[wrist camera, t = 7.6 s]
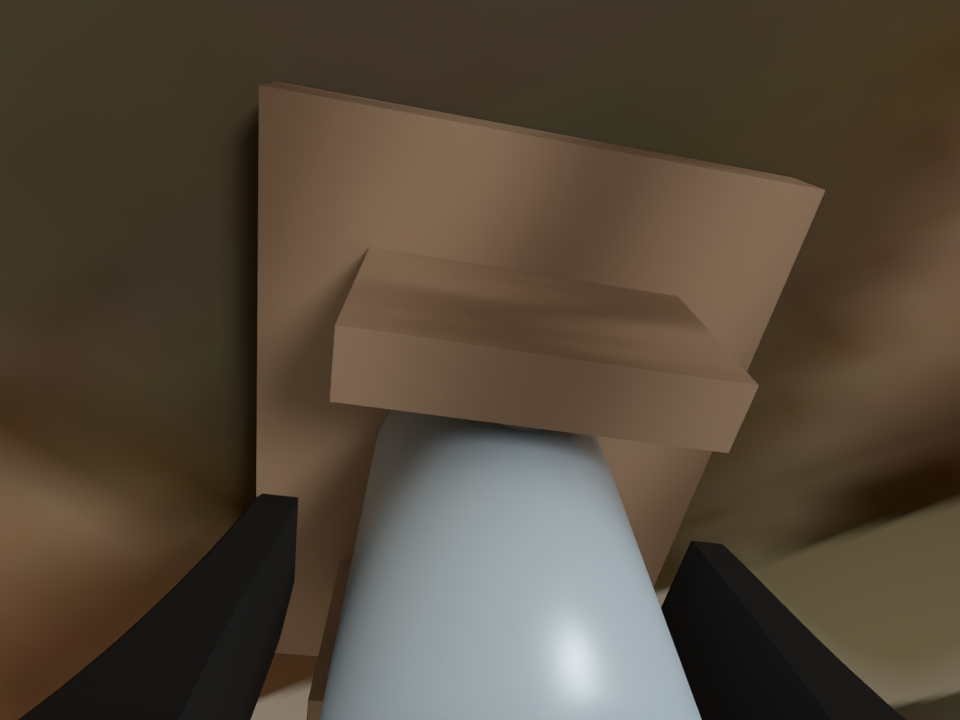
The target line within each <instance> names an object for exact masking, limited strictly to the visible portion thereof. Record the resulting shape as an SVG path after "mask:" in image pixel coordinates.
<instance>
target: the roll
mask: <svg viewBox="0 0 960 720" xmlns="http://www.w3.org/2000/svg"><path fill="white" fill-rule="evenodd" d="M319 720H702V719H701V717H700V714H699V711H698V708H697V706H696V703H695V700H694V698H693V695H692V692H691V689H690V687H689V684H688V681H687V678H686V676H685V673H684V670H683V667H682V665H681V662H680V659H679V657H678V654H677V651H676V648H675V646H674V643H673V640H672V637H671V635H670V632H669V629H668V627H667V624H666V621H665V618H664V616H663V613H662V610H661V607H660V605H659V602H658V599H657V596H656V594H655V591H654V588H653V586H652V583H651V580H650V577H649V575H648V572H647V569H646V566H645V564H644V561H643V558H642V555H641V553H640V550H639V547H638V545H637V542H636V539H635V536H634V534H633V531H632V528H631V525H630V523H629V520H628V517H627V515H626V512H625V509H624V506H623V504H622V501H621V498H620V495H619V493H618V490H617V487H616V484H615V482H614V479H613V476H612V474H611V471H610V468H609V465H608V463H607V460H606V457H605V454H604V452H603V449H602V446H601V444H600V441H599V438H598V436H592V435H584V434H576V433H569V432H561V431H553V430H545V429H541V430H538V431H519V430H515V429H512V428H509V427H507V426H505V425H503V424H499V423H491V422H483V421H476V420H468V419H460V418H452V417H445V416H437V415H429V414H421V413H414V412H406V411H398V410H390V411H389V413H388V414H387V416H386V417H385V419H384V421H383V423H382V425H381V428H380V430H379V432H378V436H377V440H376V445H375V449H374V454H373V459H372V464H371V469H370V474H369V479H368V484H367V488H366V493H365V498H364V503H363V508H362V513H361V518H360V523H359V527H358V532H357V537H356V542H355V547H354V552H353V557H352V562H351V566H350V571H349V576H348V581H347V586H346V591H345V596H344V601H343V605H342V610H341V615H340V620H339V625H338V630H337V635H336V640H335V645H334V649H333V654H332V659H331V664H330V669H329V674H328V679H327V684H326V688H325V693H324V698H323V703H322V708H321V713H320V718H319Z"/></svg>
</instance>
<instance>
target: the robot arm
mask: <svg viewBox="0 0 960 720" xmlns="http://www.w3.org/2000/svg"><path fill="white" fill-rule="evenodd" d="M297 517H298V497H290V496H281V495H272V494H263V493H262V494H261V495H259V496H258V497H256V498H255V499H254V501H253V502H252V503H251V504H250V506H249V507H248V508H247V509H246V510H245V512H244V513H243V514H242V515H241V516H240V517H239V519H238V520H237V521H236V522H235V523H234V524H233V526H232V527H231V528H230V529H229V530H228V531H227V532H226V533H225V535H224V536H223V537H222V538H221V539H220V540H219V541H218V542H217V543H216V544H215V545H214V547H213V548H212V549H211V550H210V551H209V552H208V553H207V554H206V555H205V556H204V557H203V558H202V559H201V560H200V561H199V562H198V563H197V564H196V565H195V566H194V567H193V568H192V569H191V571H190V572H189V573H188V574H187V575H186V576H185V577H184V578H183V579H182V580H181V581H180V582H179V583H178V584H177V585H176V586H175V587H174V588H173V589H172V590H171V591H170V592H169V593H168V594H167V595H166V596H165V597H163V598H162V599H161V600H160V601H159V602H158V603H157V604H156V605H155V606H154V607H153V608H152V609H151V610H149V611H148V612H147V613H146V614H145V615H144V616H143V617H142V618H141V619H140V620H139V621H138V622H137V623H136V624H134V625H133V626H132V627H131V628H130V629H129V630H128V631H127V632H126V633H125V634H124V635H122V636H121V637H120V638H119V639H118V640H117V641H116V642H114V643H113V644H112V645H111V646H110V647H109V648H108V649H106V650H105V651H104V652H103V653H102V654H101V655H99V656H98V657H97V658H96V659H95V660H94V661H92V662H91V663H90V664H89V665H88V666H86V667H85V668H84V669H83V670H81V671H80V672H79V673H78V674H77V675H75V676H74V677H73V678H72V679H70V680H69V681H68V682H67V683H65V684H64V685H63V686H62V687H61V688H59V689H58V690H57V691H56V692H54V693H53V694H52V695H50V696H49V697H48V698H46V699H45V700H44V701H43V702H41V703H40V704H39V705H37V706H36V707H35V708H33V709H32V710H31V711H29V712H28V713H27V714H25V715H24V716H23V717H21V718H20V719H19V720H250V719H251V716H252V714H253V711H254V708H255V706H256V703H257V700H258V698H259V695H260V692H261V689H262V687H263V684H264V681H265V679H266V676H267V673H268V670H269V668H270V665H271V662H272V659H273V657H274V654H275V651H276V648H277V646H278V643H279V640H280V636H281V633H282V629H283V625H284V621H285V617H286V613H287V609H288V605H289V601H290V597H291V593H292V589H293V585H294V580H295V559H296V538H297ZM661 610H662V613H663V616H664V618H665V621H666V624H667V627H668V629H669V632H670V635H671V637H672V640H673V643H674V646H675V648H676V651H677V654H678V657H679V659H680V662H681V665H682V667H683V670H684V673H685V676H686V678H687V681H688V684H689V687H690V689H691V692H692V695H693V698H694V700H695V703H696V706H697V708H698V711H699V714H700V717H701V719H702V720H906V719H904V718H903V717H902V716H901V715H900V714H899V713H897V712H896V711H895V710H894V709H893V708H892V707H891V706H889V705H888V704H887V703H886V702H885V701H884V700H883V699H882V698H881V697H879V696H878V695H877V694H876V693H875V692H874V691H873V690H872V689H871V688H870V687H868V686H867V685H866V684H865V683H864V682H863V681H862V680H861V679H860V678H859V677H857V676H856V675H855V674H854V673H853V672H852V671H851V670H850V669H849V668H848V667H847V666H845V665H844V664H843V663H842V662H841V661H840V660H839V659H838V658H837V657H836V656H835V655H834V654H833V653H832V652H831V651H830V650H829V649H828V648H827V647H826V646H824V645H823V643H821V641H819V640H818V639H817V638H816V637H815V636H814V635H813V634H812V633H811V632H810V631H809V630H808V629H807V628H806V627H805V626H804V625H803V624H802V623H801V622H800V621H799V620H798V619H797V618H796V617H795V616H794V615H793V614H792V613H791V612H790V611H789V610H788V609H787V608H786V607H785V606H784V605H783V604H782V603H781V602H780V601H779V600H778V599H777V598H776V597H775V596H774V595H773V594H772V593H771V592H770V591H769V590H768V589H767V588H766V587H765V585H763V583H761V581H759V579H758V578H757V577H755V575H754V574H753V573H752V572H751V571H750V570H749V569H748V568H747V567H746V566H745V565H744V564H743V563H742V562H741V561H739V560H738V559H737V558H736V557H735V556H734V555H733V554H732V553H731V552H730V551H729V550H728V549H727V548H726V547H725V546H724V545H722V544H715V543H706V542H697V541H691V543H690V545H689V547H688V549H687V552H686V554H685V556H684V558H683V560H682V563H681V565H680V567H679V569H678V572H677V574H676V576H675V578H674V580H673V583H672V585H671V587H670V589H669V592H668V594H667V596H666V598H665V600H664V603H663V605H662V607H661Z"/></svg>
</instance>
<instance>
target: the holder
mask: <svg viewBox="0 0 960 720" xmlns="http://www.w3.org/2000/svg"><path fill="white" fill-rule="evenodd" d="M824 192H825V190H824V189H821V188H818V187H816V186H813V185H811V184H808V183H805V182H803V181H800V180H797V179H795V178H792V177H786V176H781V175H776V174H770V173H765V172H760V171H754V170H749V169H743V168H738V167H733V166H727V165H722V164H717V163H711V162H706V161H701V160H695V159H690V158H685V157H679V156H674V155H668V154H663V153H658V152H652V151H647V150H642V149H636V148H631V147H626V146H620V145H615V144H609V143H604V142H599V141H593V140H588V139H583V138H577V137H572V136H567V135H561V134H556V133H550V132H545V131H540V130H534V129H529V128H524V127H518V126H513V125H508V124H502V123H497V122H492V121H486V120H481V119H475V118H470V117H465V116H459V115H454V114H449V113H443V112H438V111H433V110H427V109H422V108H416V107H411V106H406V105H400V104H395V103H390V102H384V101H379V100H374V99H368V98H363V97H357V96H352V95H347V94H341V93H336V92H331V91H325V90H320V89H315V88H309V87H304V86H298V85H293V84H288V83H282V82H274V83H269V84H263V85H259V156H258V307H257V457H256V497H258V496H259V495H261V494H262V493H263V494H272V495H281V496H290V497H298V517H297V538H296V559H295V580H294V585H293V589H292V593H291V597H290V601H289V605H288V609H287V613H286V617H285V621H284V625H283V629H282V633H281V636H280V640H279V643H278V646H277V648H276V651H275V653H281V654H293V655H306V656H318V660H317V664H316V668H315V673H314V677H313V681H312V686H311V691H310V695H309V699H308V711H307V720H319V718H320V713H321V708H322V703H323V698H324V693H325V688H326V684H327V679H328V674H329V669H330V664H331V659H332V654H333V649H334V645H335V640H336V635H337V630H338V625H339V620H340V615H341V610H342V605H343V601H344V596H345V591H346V586H347V581H348V576H349V571H350V566H351V562H352V557H353V552H354V547H355V542H356V537H357V532H358V527H359V523H360V518H361V513H362V508H363V503H364V498H365V493H366V488H367V484H368V479H369V474H370V469H371V464H372V459H373V454H374V449H375V445H376V440H377V436H378V432H379V430H380V428H381V425H382V423H383V421H384V419H385V417H386V416H387V414H388V413H389V411H390V410H398V411H406V412H414V413H421V414H429V415H437V416H445V417H452V418H460V419H468V420H476V421H483V422H491V423H499V424H503V425H505V426H507V427H509V428H512V429H515V430H519V431H538V430H541V429H545V430H553V431H561V432H569V433H576V434H584V435H592V436H598V438H599V441H600V444H601V446H602V449H603V452H604V454H605V457H606V460H607V463H608V465H609V468H610V471H611V474H612V476H613V479H614V482H615V484H616V487H617V490H618V493H619V495H620V498H621V501H622V504H623V506H624V509H625V512H626V515H627V517H628V520H629V523H630V525H631V528H632V531H633V534H634V536H635V539H636V542H637V545H638V547H639V550H640V553H641V555H642V558H643V561H644V564H645V566H646V569H647V572H648V575H649V577H650V580H651V583H652V586H653V587H654V585H655V583H656V580H657V578H658V576H659V573H660V571H661V569H662V566H663V564H664V562H665V559H666V557H667V555H668V553H669V550H670V548H671V546H672V543H673V541H674V539H675V536H676V534H677V532H678V529H679V527H680V525H681V523H682V520H683V518H684V516H685V513H686V511H687V509H688V506H689V504H690V502H691V499H692V497H693V495H694V493H695V490H696V488H697V486H698V483H699V481H700V479H701V476H702V474H703V472H704V469H705V467H706V465H707V463H708V460H709V458H710V456H711V453H712V451H716V452H724V453H729V451H730V449H731V446H732V444H733V442H734V440H735V437H736V435H737V433H738V431H739V429H740V426H741V424H742V422H743V420H744V417H745V415H746V413H747V411H748V408H749V406H750V404H751V402H752V400H753V397H754V395H755V393H756V391H757V388H758V386H759V385H758V384H757V383H756V382H755V381H754V380H753V379H752V378H751V376H750V375H749V374H748V373H747V370H748V368H749V366H750V363H751V361H752V359H753V356H754V354H755V352H756V349H757V347H758V345H759V342H760V340H761V338H762V336H763V333H764V331H765V329H766V326H767V324H768V322H769V319H770V317H771V315H772V312H773V310H774V308H775V306H776V303H777V301H778V299H779V296H780V294H781V292H782V289H783V287H784V285H785V282H786V280H787V278H788V275H789V273H790V271H791V269H792V266H793V264H794V262H795V259H796V257H797V255H798V252H799V250H800V248H801V245H802V243H803V241H804V239H805V236H806V234H807V232H808V229H809V227H810V225H811V222H812V220H813V218H814V215H815V213H816V211H817V209H818V206H819V204H820V202H821V199H822V197H823V195H824Z"/></svg>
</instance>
